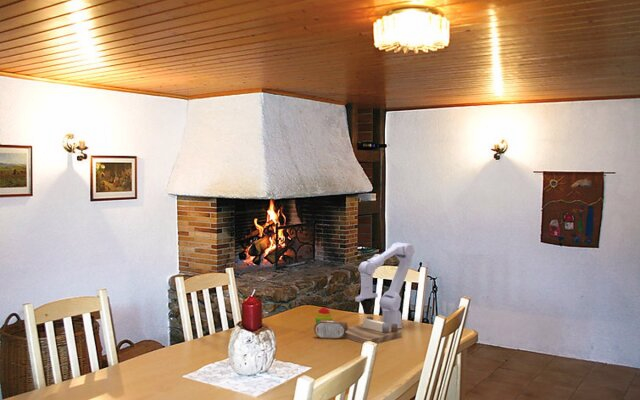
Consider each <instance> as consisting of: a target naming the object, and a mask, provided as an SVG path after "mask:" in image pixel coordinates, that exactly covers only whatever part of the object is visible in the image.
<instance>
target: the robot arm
mask: <svg viewBox="0 0 640 400" xmlns="http://www.w3.org/2000/svg"><path fill="white" fill-rule="evenodd" d="M414 253H415V248H414V245H413V244H411V243H405V242H399V241H395V242H394V243H392V244H391V246H390V247H389V248H387V249H386V250H385V251H383V252H382V253H381V254H379V253H378V254H377V253H375V254H374V255H373V256H372V257H371V258H368V259H367V260H366V261H362V262H360V264H359V266H358V269H357V270H358V272H359V276H360V294H359V295H357V296H355V297H354V299H355V300H354V301H355V302H358V303H360V305H361V306H362V311H363V314H364V315H369V314H370V312H371V308H372V306H373V303H374V301H375V300H374V299H376V298H378V295H379V293H377V292H373V274H374V273H375V272H376V270H377V269H378V268H380V267H382V266H383V265H384V264H385V261H386V260H387V259H390V258H391V257H393V256H396V258H397V259H398V260H399V264H398V265H397V268H396V271H395V274H394V276H393V278H392V281H391V283H390V286H389V289H388V290H387V291H385V292H384V293H383V295H381V297H380V299H379V301H378V302H379V304H378V305H379V307H380V308H381V310H382V321H381V322H384V323H389V328H390V329H391V324H398V330H399V329H401V328H402V329H403V326H402V313H401V311H400V307H401V303H402V298H401V295H400V293H401V290H402V287H403V285H404V282H405V280H406V277H407V275H408V272H409V269H410V267H411V264H412V260H413V259H412V258H413V256H414Z"/></svg>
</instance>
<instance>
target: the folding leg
mask: <svg viewBox="0 0 640 400" xmlns="http://www.w3.org/2000/svg"><path fill="white" fill-rule="evenodd" d="M362 324H363V327H364V328H368V329H372V330H376V331H380V332H383V333H389V323H384V322H382V321H381V320H375V319H373V320H371V319H367V317H365V318H363V320H362Z"/></svg>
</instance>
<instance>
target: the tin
mask: <svg viewBox="0 0 640 400" xmlns="http://www.w3.org/2000/svg"><path fill="white" fill-rule="evenodd" d="M342 322H343V321H340V320H320V321H318V322H317V323H316V322H315V325H314V329H313V330H314V334H315V335H316V337H318V338H320V339H331V340H332V339H333V340H340V339H342V338H344V337H343V336H344V334H345V332H346V327H345V325H344V323H342Z"/></svg>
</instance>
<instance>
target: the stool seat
mask: <svg viewBox="0 0 640 400" xmlns="http://www.w3.org/2000/svg"><path fill="white" fill-rule="evenodd" d="M366 318H367V319H371V320H374V318H373V316H367V317H366ZM341 322H342V323H344V325H345V327H346V332H345V334H344V336H343V337H342V338H345V339H348V340H351V341H354V342H357V343H360V344H363V343H364V342H365V341H372V342H375V343H377V344H381V343H384V342H388V341H391V340H396V339H399V338H402V337H403V335H402V334H403V332H402V331H400V330H399V329H398V324H391V329H390V328H389V333H383V332H380V331H376V330H372V329H368V328H364V327H363V323H362V324H357V325H353V326H348V322H347V321H341ZM363 345H364V344H363Z"/></svg>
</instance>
